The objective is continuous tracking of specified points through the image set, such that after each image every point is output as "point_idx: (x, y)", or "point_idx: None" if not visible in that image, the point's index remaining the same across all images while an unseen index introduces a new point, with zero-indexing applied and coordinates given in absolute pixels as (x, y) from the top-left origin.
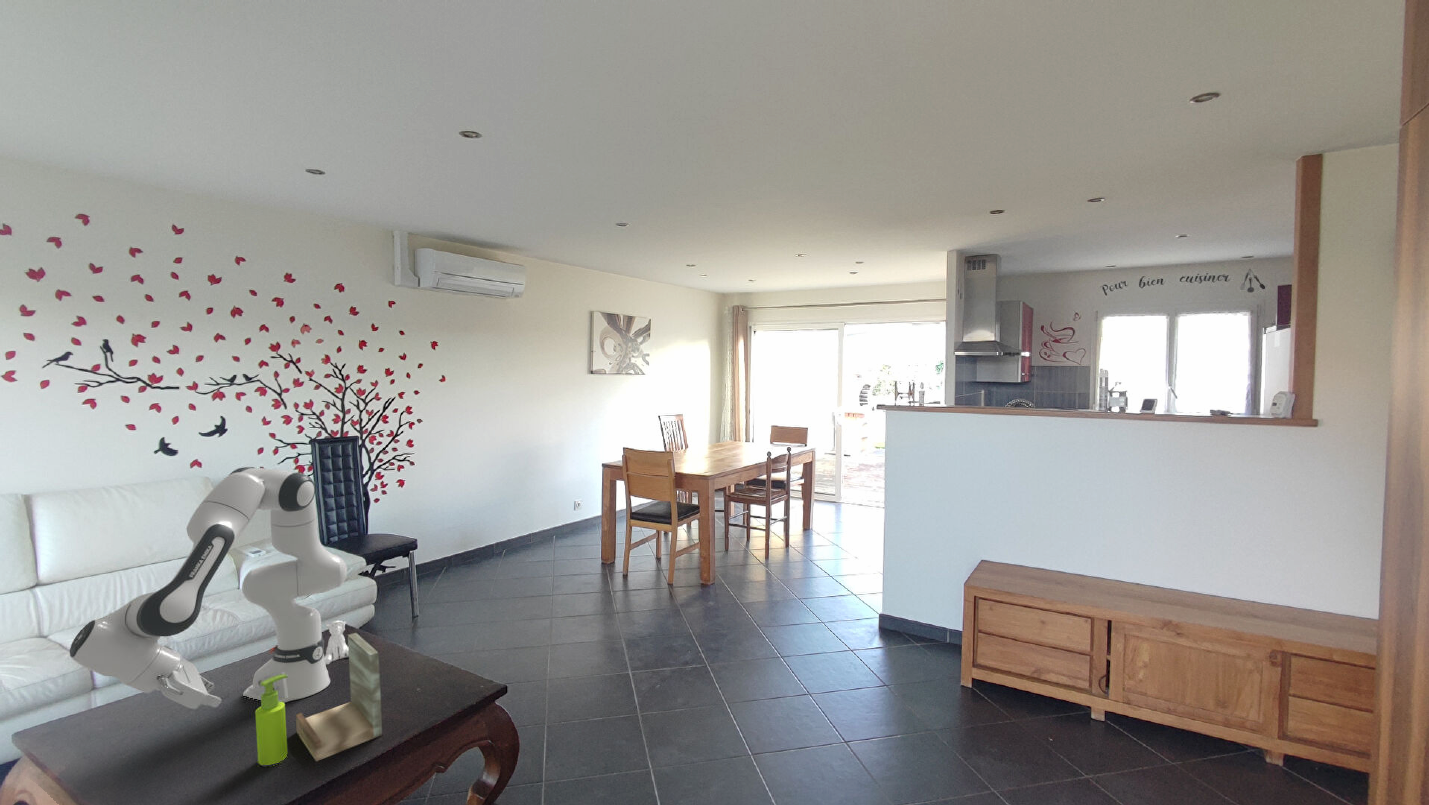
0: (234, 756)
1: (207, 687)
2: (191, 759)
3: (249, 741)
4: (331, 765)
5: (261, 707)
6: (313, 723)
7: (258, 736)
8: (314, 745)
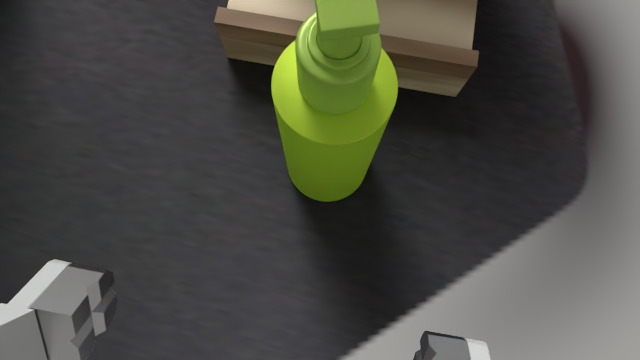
0: (191, 224)
1: (84, 321)
2: None
3: (138, 160)
4: (514, 81)
5: (301, 106)
6: (289, 12)
7: (338, 175)
8: (462, 72)
